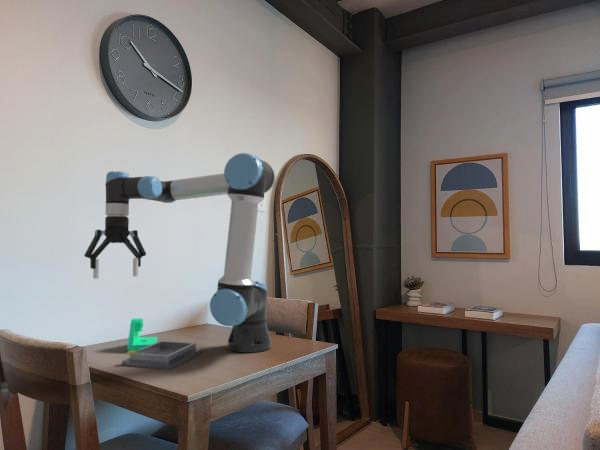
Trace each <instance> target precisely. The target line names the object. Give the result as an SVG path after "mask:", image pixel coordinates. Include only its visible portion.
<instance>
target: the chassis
mask: <svg viewBox="0 0 600 450" xmlns="http://www.w3.org/2000/svg"><path fill="white" fill-rule="evenodd" d="M202 353H203V348H202V347H197V343H196V342H185V341H169V340H159V341H157V343H154V344H152V345H149V346H147V347H144V348H142V349H139V350H127V352H126V354H127V355H129V358H127V359H124V360H121V366H124V367H125V366H127V367H136V368H137V367H138V368H147V369H148V368H151V369H152V368H153V369H161V370H162V369H163V370H172V369H175V368H176V367H178V366H180V365H182V364H183V363H185V362H187V361H189V360H190V359H192V358H194V357H195V356H198V355H199V354H202Z"/></svg>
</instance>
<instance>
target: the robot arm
mask: <svg viewBox="0 0 600 450" xmlns="http://www.w3.org/2000/svg"><path fill="white" fill-rule="evenodd" d="M105 175H106V177H105V182H104V183H105V215H106V217H105V218H104V219H105V221H104V223H105V225H104V230H101V229H95V232H94V236H93V238H92V240H91V242H90V244H89V246H88V247H87V250H86V251H85V253H84V255H83V256H84V257H85V258H88V259H90V260H89V261H90V267H89V268H90V269H92V270H93V271H92V277H93V278H92V279H96V280H98V279H99V271H100V270H99V268H100V267H99V264H100V263H99V261H100V259H98V257H99V255H101V254H102V252H103V251H104V250H105V249H106V248H107V247H108V245H109V244H116V243H117V244H124V245H125V246H126V248H127V249H128V250H129V252H131V254H133V256H134V257H133V258H132V276H133V277H139V267H140V268H141V266H142V265H141V264H142V263H141V261H142V260H141V259H142V258H143V257H145V256H146V255H147V253H146V250H145V248H144V246H143V244H142V242H141V240H140V238H139V235H138V233H139V232H138V230H129V223H130V220H129V217H128V216H129V213H130V200H137V199H138V200H141V199H142V200H148V201H155V202H160V203H161V202H162V203H165V204H167V203H168V204H172V203H174V202H176V201H180V200H181V201H182V200H187V199H188V200H189V199H190V200H191V199H198V198H205V197H206V198H207V197H214V196H224V195H227V196H228V198H229V199H230V201H231V205H230V214H229V223H228V224H229V225H228V230H227V231H228V233H227V241H226V249H225V250H226V251H225V259H224V267H223V268H224V269H223V275H222V276H221V277H220V278H218V281H217V289H216V290H217V291H216V292H214V293H213V295H212V296H211V299H210V302H209V309H210V313H211V315H212V318H214V320H215V321H216V322H217V323H219V325H222V326H225V327H231V330H230V333H229V337H228V339H227V349H228V350H229V351H233V352H236V353H237V352H238V353H259V352H264V351H267V350H270V349H271V348H272V339H271V336H270V333H269V332H270V331H269V329H268V325H267V302H268V300H267V298H268V296H267V295H268V290H267V288H268V287H267V283H266V282H265V281H259V280H258V281H257V280H253V279H252V268H253V258H254V257H253V256H254V247H255V240H256V230H257V222H258V221H257V220H258V210H259V204H260V203H261V202H262V201H263V200H264V199H265V194H266V193H267V192H268V191H270V190H271V189H272V188H273V186H274V184H275V180H276V179H275V178H276V175H275V171H274V169H273V167H272V166H271V165H270V164H269V163H268V162H266V161H265V160H262V159H261V158H259V157H258V156H256V155H254V154H251V153H246V152H243V153H242V152H241V153H237V154H235V155H233V156H232V157H231V158H230V159H229V160H228V161H227V162H226V164H225V166H224V170H223V173H218V174H210V175H203V176H202V175H201V176H194V177H187V178H180V179H174V180H163V181H162V180H160V179H159V178H158V177H157V176H154V175H153V176H152V175H151V176H149V175H145V176H133V177H131V176H130V174H129V173H128V172H127V171H126V172H124V171H113V170H112V171H108V172H107V173H106V174H105ZM103 235H104V236H105V238H104V240H103V241H102V242H101V244H100V245H99V246H98V247H97V245H98V243H99V241H100V239H101V237H103ZM129 236H130V237H131V239H132V241H133V242H134V245H133V243H132V242H131V240H130V239H129V238H128V237H129Z"/></svg>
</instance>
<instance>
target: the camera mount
mask: <svg viewBox="0 0 600 450" xmlns="http://www.w3.org/2000/svg"><path fill="white" fill-rule="evenodd" d="M143 328H144V319H143V318H131V320H130V326H129V333H128V340H127V341H128V342H127V351H130V350H139V349H142V348H144V347H147V346H149V345H152V344H154V343H157V342H158V337H157V336H143V337H142V336H141V335H140V332H143Z"/></svg>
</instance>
